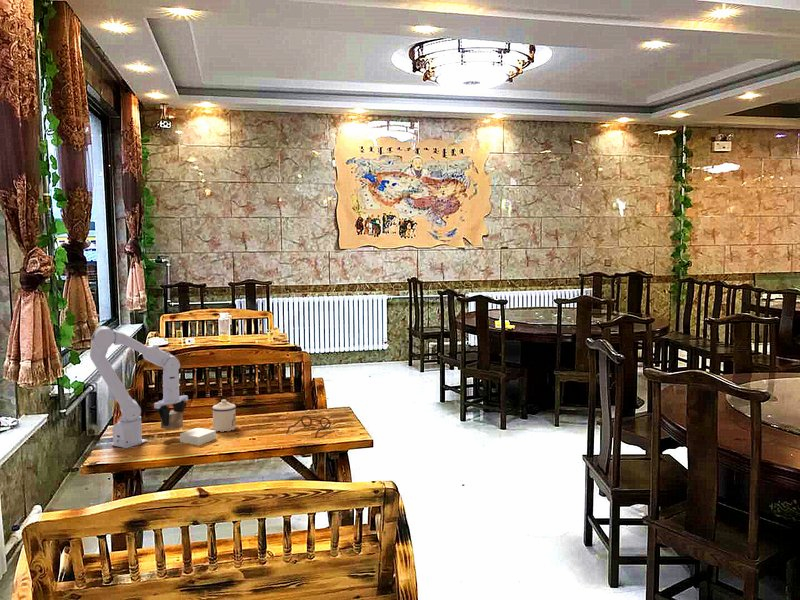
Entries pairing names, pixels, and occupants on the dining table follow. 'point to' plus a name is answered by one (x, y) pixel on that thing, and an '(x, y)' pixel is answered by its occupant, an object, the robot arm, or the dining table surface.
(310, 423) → the glasses
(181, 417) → the walnut cube
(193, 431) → the cream block
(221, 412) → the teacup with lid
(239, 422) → the dining table surface
